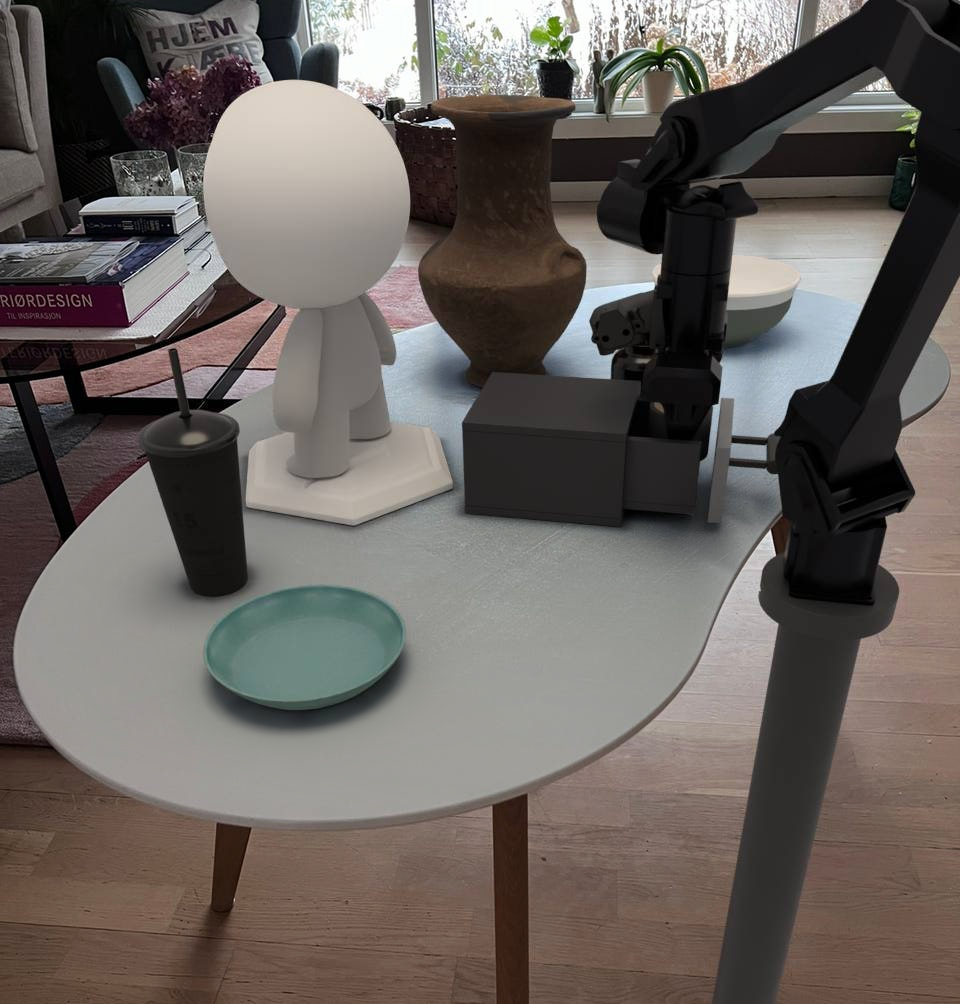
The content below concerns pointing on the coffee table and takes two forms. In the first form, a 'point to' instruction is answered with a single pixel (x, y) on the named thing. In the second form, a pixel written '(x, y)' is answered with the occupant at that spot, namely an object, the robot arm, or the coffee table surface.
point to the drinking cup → (200, 490)
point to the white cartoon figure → (321, 296)
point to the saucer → (305, 646)
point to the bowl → (755, 296)
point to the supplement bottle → (631, 362)
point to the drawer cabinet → (548, 448)
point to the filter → (660, 431)
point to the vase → (503, 239)
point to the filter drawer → (683, 465)
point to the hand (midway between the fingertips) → (679, 441)
